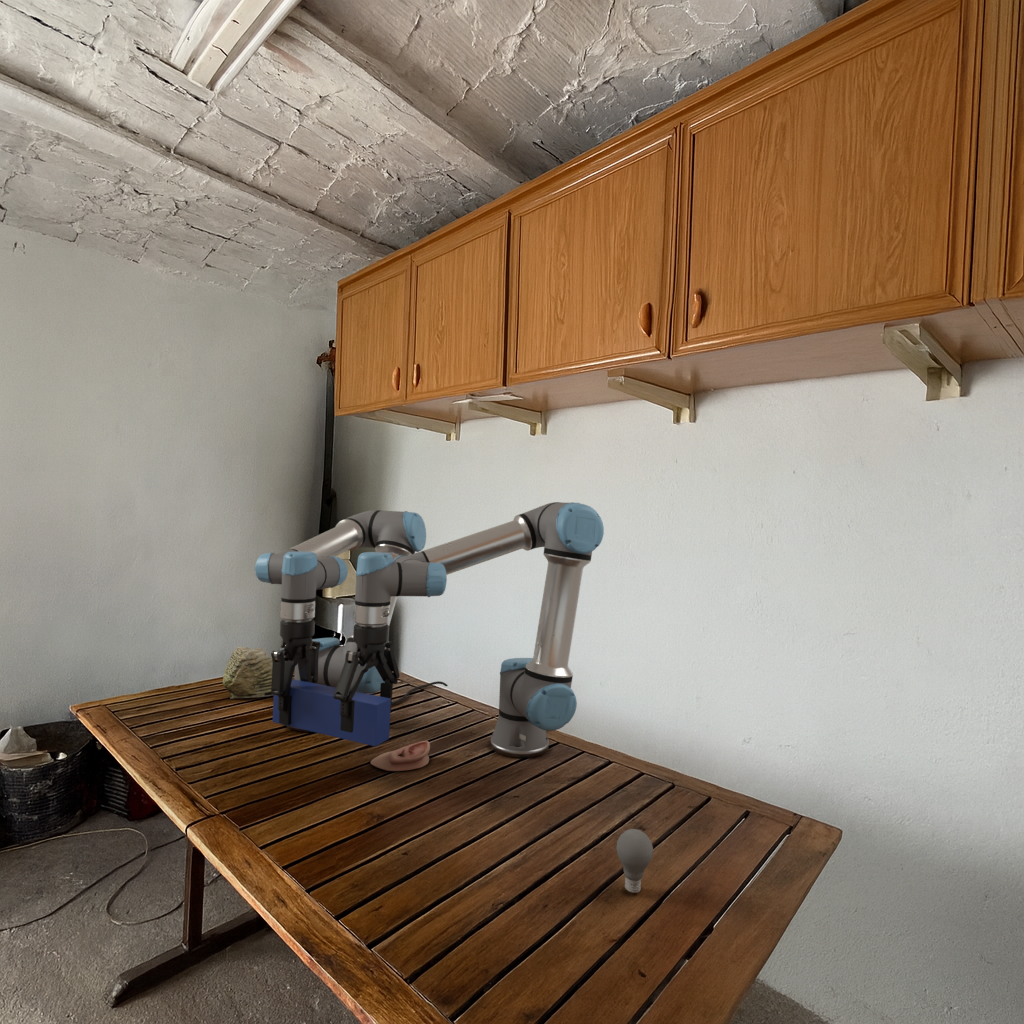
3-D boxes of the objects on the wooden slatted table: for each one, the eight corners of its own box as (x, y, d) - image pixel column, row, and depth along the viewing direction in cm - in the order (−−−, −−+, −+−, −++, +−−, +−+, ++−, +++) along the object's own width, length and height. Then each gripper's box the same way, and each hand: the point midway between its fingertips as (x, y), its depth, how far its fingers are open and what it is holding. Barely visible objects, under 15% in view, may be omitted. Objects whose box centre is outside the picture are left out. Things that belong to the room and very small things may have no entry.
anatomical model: (365, 751, 148) (384, 733, 160) (364, 767, 148) (384, 749, 160) (419, 758, 146) (435, 740, 157) (418, 775, 146) (434, 756, 157)
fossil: (218, 695, 195) (220, 647, 195) (278, 685, 208) (279, 640, 207) (228, 703, 189) (230, 653, 188) (289, 692, 201) (290, 645, 201)
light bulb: (610, 879, 108) (613, 822, 108) (644, 879, 109) (647, 822, 109) (619, 902, 102) (622, 840, 102) (655, 901, 103) (658, 840, 103)
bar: (272, 722, 145) (273, 683, 145) (288, 715, 150) (289, 678, 150) (375, 746, 134) (377, 704, 133) (389, 738, 138) (390, 698, 138)
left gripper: (281, 627, 136) (277, 735, 136) (336, 615, 152) (333, 711, 153) (254, 623, 139) (251, 729, 139) (312, 611, 155) (308, 705, 156)
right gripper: (349, 636, 124) (343, 743, 124) (417, 617, 147) (412, 708, 147) (318, 631, 127) (313, 735, 127) (390, 613, 150) (385, 702, 150)
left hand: (294, 719), depth 146 cm, fingers closed on bar, 5 cm apart
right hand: (366, 721), depth 137 cm, fingers open, 13 cm apart
